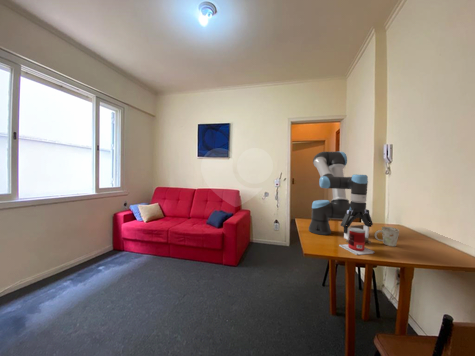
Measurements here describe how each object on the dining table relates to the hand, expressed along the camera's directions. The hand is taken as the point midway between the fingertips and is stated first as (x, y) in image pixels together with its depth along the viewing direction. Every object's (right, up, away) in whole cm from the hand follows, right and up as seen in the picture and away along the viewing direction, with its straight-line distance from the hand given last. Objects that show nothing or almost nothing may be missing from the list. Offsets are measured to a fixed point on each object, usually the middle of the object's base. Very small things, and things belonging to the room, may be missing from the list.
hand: (356, 237), depth 103 cm
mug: (+24, -7, +9) cm, 27 cm away
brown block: (+8, -6, +11) cm, 15 cm away
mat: (0, -7, 0) cm, 7 cm away
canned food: (0, -6, 0) cm, 6 cm away
